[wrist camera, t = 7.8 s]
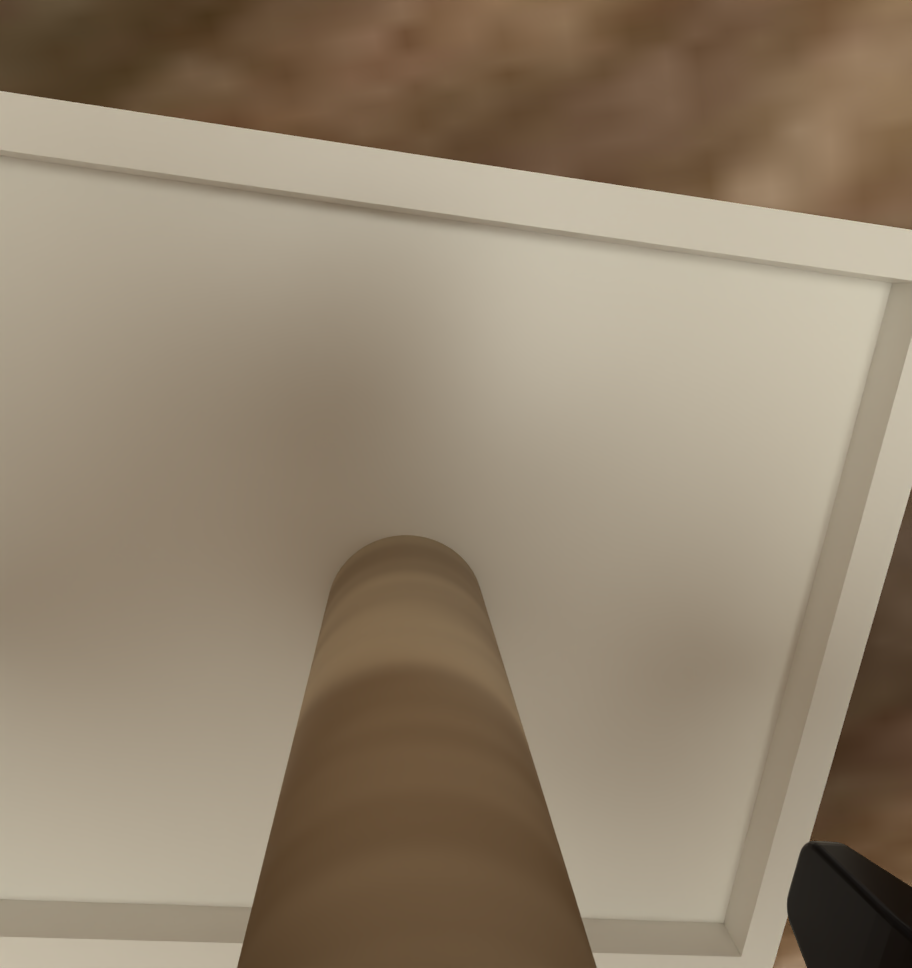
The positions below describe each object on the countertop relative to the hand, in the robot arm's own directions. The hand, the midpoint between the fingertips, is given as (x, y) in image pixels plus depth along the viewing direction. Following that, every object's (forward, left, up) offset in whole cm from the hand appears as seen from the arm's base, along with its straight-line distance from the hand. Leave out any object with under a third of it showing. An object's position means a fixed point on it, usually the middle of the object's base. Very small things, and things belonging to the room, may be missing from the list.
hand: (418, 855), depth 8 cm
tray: (0, 0, -7) cm, 7 cm away
